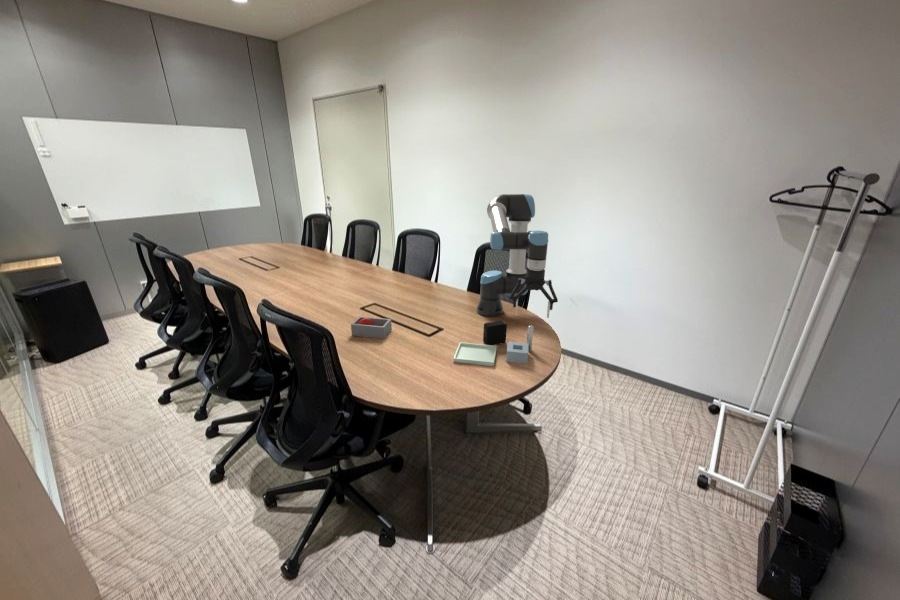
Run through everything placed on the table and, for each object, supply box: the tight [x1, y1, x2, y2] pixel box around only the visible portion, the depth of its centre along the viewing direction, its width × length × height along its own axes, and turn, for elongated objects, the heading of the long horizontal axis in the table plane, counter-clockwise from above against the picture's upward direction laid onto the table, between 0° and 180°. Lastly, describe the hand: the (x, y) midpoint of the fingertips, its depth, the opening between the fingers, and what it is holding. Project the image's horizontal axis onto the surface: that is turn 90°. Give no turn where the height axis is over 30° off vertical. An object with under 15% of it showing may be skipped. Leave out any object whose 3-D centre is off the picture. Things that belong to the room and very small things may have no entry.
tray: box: [452, 341, 498, 367], centre depth 161 cm, size 15×17×2 cm
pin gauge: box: [526, 324, 535, 352], centre depth 164 cm, size 2×2×12 cm
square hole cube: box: [505, 341, 529, 364], centre depth 159 cm, size 9×9×5 cm
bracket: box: [359, 318, 373, 338], centre depth 181 cm, size 12×4×8 cm, turn 118°
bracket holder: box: [350, 316, 393, 340], centre depth 181 cm, size 10×17×6 cm, turn 78°
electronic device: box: [482, 320, 508, 346], centre depth 171 cm, size 4×10×10 cm, turn 111°
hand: (531, 315), depth 160 cm, fingers open, 13 cm apart
